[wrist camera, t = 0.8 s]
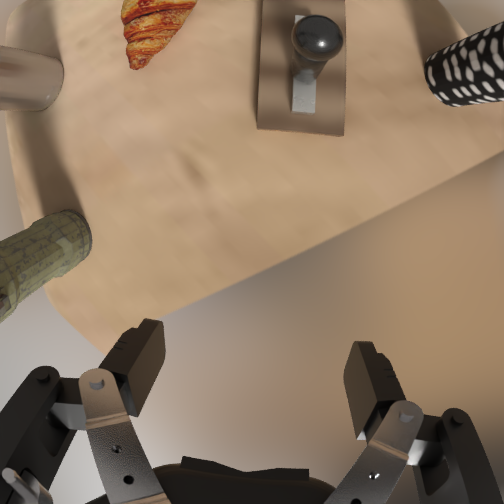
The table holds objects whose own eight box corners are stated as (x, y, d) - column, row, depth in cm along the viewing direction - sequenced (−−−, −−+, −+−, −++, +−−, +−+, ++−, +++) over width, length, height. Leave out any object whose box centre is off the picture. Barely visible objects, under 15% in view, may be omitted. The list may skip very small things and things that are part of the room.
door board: (338, 136, 35) (353, 134, 28) (258, 129, 35) (254, 125, 28) (338, -29, 26) (348, -56, 19) (266, -36, 27) (263, -65, 19)
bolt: (319, 115, 31) (348, 95, 18) (284, 112, 31) (290, 88, 18) (321, 24, 27) (345, -36, 14) (287, 21, 27) (293, -43, 14)
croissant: (176, -34, 29) (139, -53, 23) (225, -48, 25) (188, -75, 18) (136, 77, 36) (91, 66, 30) (182, 74, 32) (132, 57, 25)
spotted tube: (477, 81, 29) (571, 66, 10) (456, 118, 32) (558, 116, 13) (438, 41, 28) (524, -1, 9) (415, 77, 31) (508, 42, 12)
